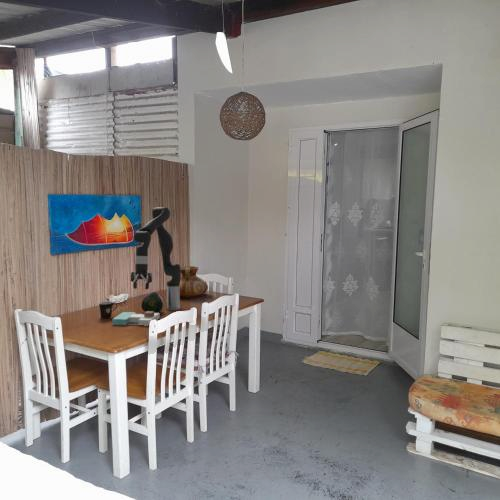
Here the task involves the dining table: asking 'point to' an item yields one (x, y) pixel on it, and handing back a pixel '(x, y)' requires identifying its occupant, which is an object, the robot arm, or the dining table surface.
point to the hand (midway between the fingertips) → (140, 288)
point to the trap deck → (133, 319)
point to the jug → (191, 283)
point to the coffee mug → (106, 309)
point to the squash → (152, 303)
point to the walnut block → (149, 314)
